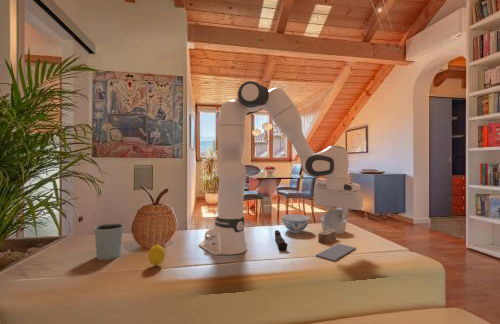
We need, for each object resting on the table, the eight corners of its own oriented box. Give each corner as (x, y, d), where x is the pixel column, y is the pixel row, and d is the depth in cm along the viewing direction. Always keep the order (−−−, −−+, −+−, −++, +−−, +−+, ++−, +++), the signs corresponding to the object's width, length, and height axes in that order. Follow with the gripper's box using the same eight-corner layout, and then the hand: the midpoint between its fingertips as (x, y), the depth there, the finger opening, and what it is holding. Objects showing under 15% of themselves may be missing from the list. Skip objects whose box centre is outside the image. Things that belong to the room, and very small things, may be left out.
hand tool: (287, 251, 117) (287, 240, 116) (278, 251, 116) (278, 240, 116) (281, 238, 135) (281, 229, 135) (273, 238, 135) (273, 229, 135)
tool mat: (315, 256, 110) (315, 254, 110) (338, 244, 125) (338, 243, 125) (334, 261, 105) (334, 260, 105) (355, 249, 119) (355, 247, 119)
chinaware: (290, 236, 138) (290, 221, 138) (276, 229, 152) (276, 215, 152) (315, 233, 143) (315, 218, 143) (300, 226, 157) (300, 213, 157)
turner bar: (324, 226, 110) (324, 214, 109) (342, 216, 121) (341, 205, 121) (331, 227, 108) (331, 215, 107) (348, 217, 119) (348, 206, 119)
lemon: (164, 268, 98) (164, 245, 98) (147, 269, 96) (147, 247, 96) (164, 262, 103) (164, 241, 103) (149, 264, 101) (149, 242, 101)
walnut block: (318, 233, 129) (328, 229, 137) (318, 241, 129) (328, 237, 137) (326, 235, 127) (335, 230, 134) (326, 243, 127) (335, 239, 134)
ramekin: (351, 234, 143) (351, 221, 142) (328, 235, 140) (329, 222, 139) (337, 227, 155) (338, 215, 155) (316, 229, 152) (316, 216, 152)
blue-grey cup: (88, 258, 107) (88, 227, 106) (110, 250, 116) (110, 222, 116) (107, 262, 103) (107, 230, 103) (128, 253, 112) (128, 224, 112)
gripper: (311, 183, 119) (311, 215, 119) (358, 187, 105) (358, 223, 105) (318, 182, 124) (318, 213, 124) (364, 186, 110) (364, 220, 110)
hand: (337, 217), depth 114 cm, fingers closed on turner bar, 3 cm apart
